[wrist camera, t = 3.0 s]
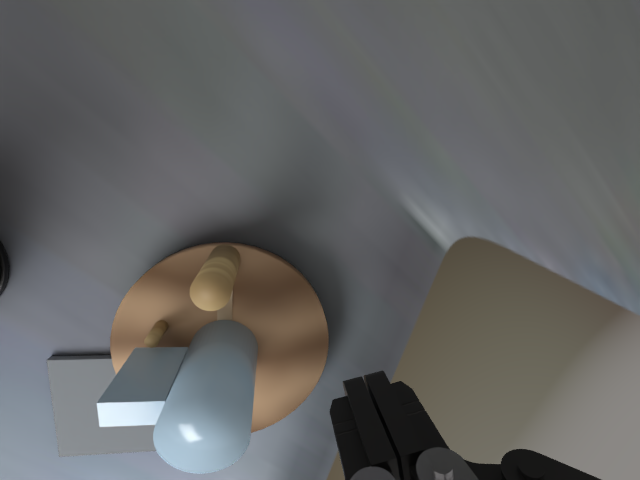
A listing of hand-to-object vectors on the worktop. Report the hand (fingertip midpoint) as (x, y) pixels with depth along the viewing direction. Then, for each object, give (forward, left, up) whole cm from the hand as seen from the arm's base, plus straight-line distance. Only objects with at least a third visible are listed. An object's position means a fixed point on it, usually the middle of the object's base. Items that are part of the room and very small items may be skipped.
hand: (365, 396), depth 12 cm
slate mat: (+15, -17, -19) cm, 29 cm away
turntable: (+8, -7, -18) cm, 21 cm away
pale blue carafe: (+8, -9, -16) cm, 20 cm away
